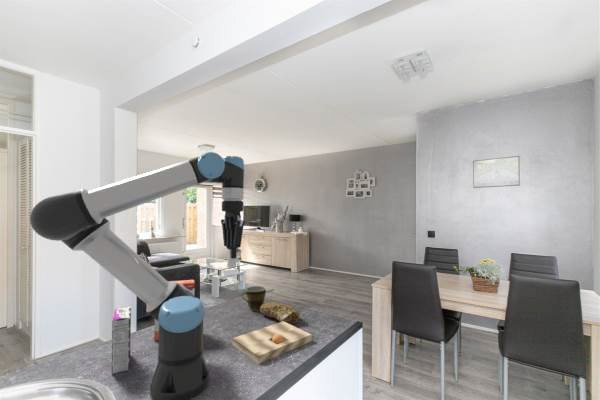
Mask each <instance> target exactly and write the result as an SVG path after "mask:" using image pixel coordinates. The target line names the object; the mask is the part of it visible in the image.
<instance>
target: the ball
mask: <svg viewBox="0 0 600 400" xmlns="http://www.w3.org/2000/svg"><path fill="white" fill-rule="evenodd" d="M272 342H274V343H275V344H280V343H282V342H283V337H282V336H281V335H280V334H276V335H274V336H273V338H272Z"/></svg>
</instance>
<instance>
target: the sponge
mask: <svg viewBox="0 0 600 400" xmlns="http://www.w3.org/2000/svg"><path fill="white" fill-rule="evenodd" d="M260 313H261V314H262V315H264V316H266V317H268V318H272V319H276V320H277V321H279V322H282V321H284V322H286V323H288V324H290V325H291V324H292V325H293V324H295V325H296V324H297V323H298V322H299V319H300V316H301V315H300V312H299V311H298V310H297V309H296V308H295V307H294V306H291V305H290V304H289V305H288V304H286V303H282V302H278V301H267V302H265V303H263V304H262V306H261V307H260Z"/></svg>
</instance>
